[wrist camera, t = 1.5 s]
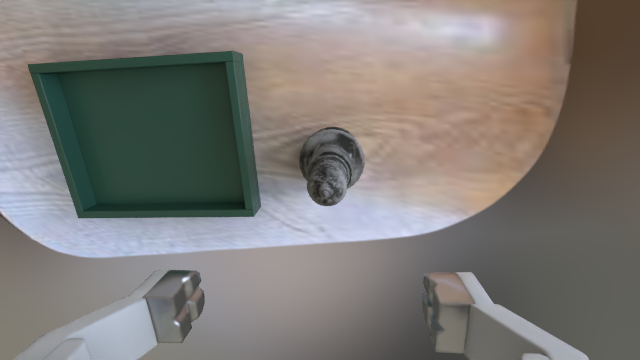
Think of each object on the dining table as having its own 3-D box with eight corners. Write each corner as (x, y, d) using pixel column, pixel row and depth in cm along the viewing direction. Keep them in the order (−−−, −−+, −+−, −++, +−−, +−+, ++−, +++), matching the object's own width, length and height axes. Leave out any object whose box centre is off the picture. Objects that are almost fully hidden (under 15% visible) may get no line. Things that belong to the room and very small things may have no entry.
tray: (53, 65, 30) (27, 64, 27) (242, 53, 28) (232, 51, 25) (97, 208, 35) (78, 218, 32) (261, 206, 33) (254, 216, 30)
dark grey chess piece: (304, 179, 31) (279, 234, 20) (305, 122, 29) (278, 148, 18) (360, 182, 31) (368, 240, 19) (364, 125, 29) (376, 152, 18)
